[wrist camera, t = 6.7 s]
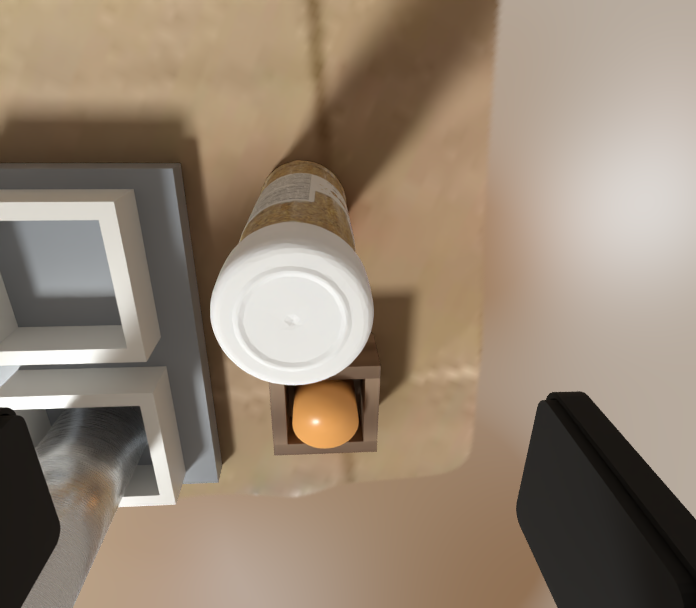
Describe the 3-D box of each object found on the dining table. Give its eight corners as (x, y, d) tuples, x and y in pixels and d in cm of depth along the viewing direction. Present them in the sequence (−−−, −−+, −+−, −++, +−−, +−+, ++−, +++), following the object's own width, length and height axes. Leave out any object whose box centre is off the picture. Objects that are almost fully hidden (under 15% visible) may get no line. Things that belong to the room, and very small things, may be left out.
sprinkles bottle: (354, 231, 26) (391, 370, 14) (274, 253, 26) (240, 407, 14) (333, 146, 24) (354, 221, 12) (246, 170, 24) (178, 267, 12)
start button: (293, 365, 28) (290, 397, 25) (354, 363, 28) (359, 394, 25) (295, 415, 29) (293, 449, 27) (353, 413, 29) (358, 447, 27)
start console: (273, 336, 28) (267, 369, 25) (373, 334, 29) (380, 365, 26) (278, 416, 31) (274, 455, 28) (370, 413, 31) (376, 451, 28)
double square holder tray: (-74, 163, 23) (-146, 179, 19) (180, 163, 24) (156, 179, 20) (39, 472, 32) (3, 523, 28) (222, 465, 32) (211, 514, 29)
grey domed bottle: (53, 392, 27) (-117, 600, 16) (143, 389, 28) (33, 592, 17) (74, 458, 29) (-64, 680, 19) (157, 455, 30) (68, 672, 19)
